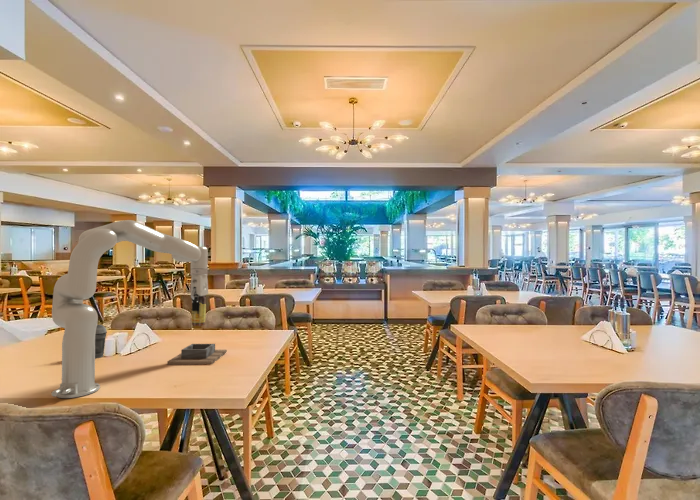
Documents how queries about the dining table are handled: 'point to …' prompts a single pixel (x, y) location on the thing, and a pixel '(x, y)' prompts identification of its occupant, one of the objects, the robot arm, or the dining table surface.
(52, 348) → the dining table surface
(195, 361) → the condiment holder
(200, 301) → the sauce bottle
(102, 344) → the beverage cup
